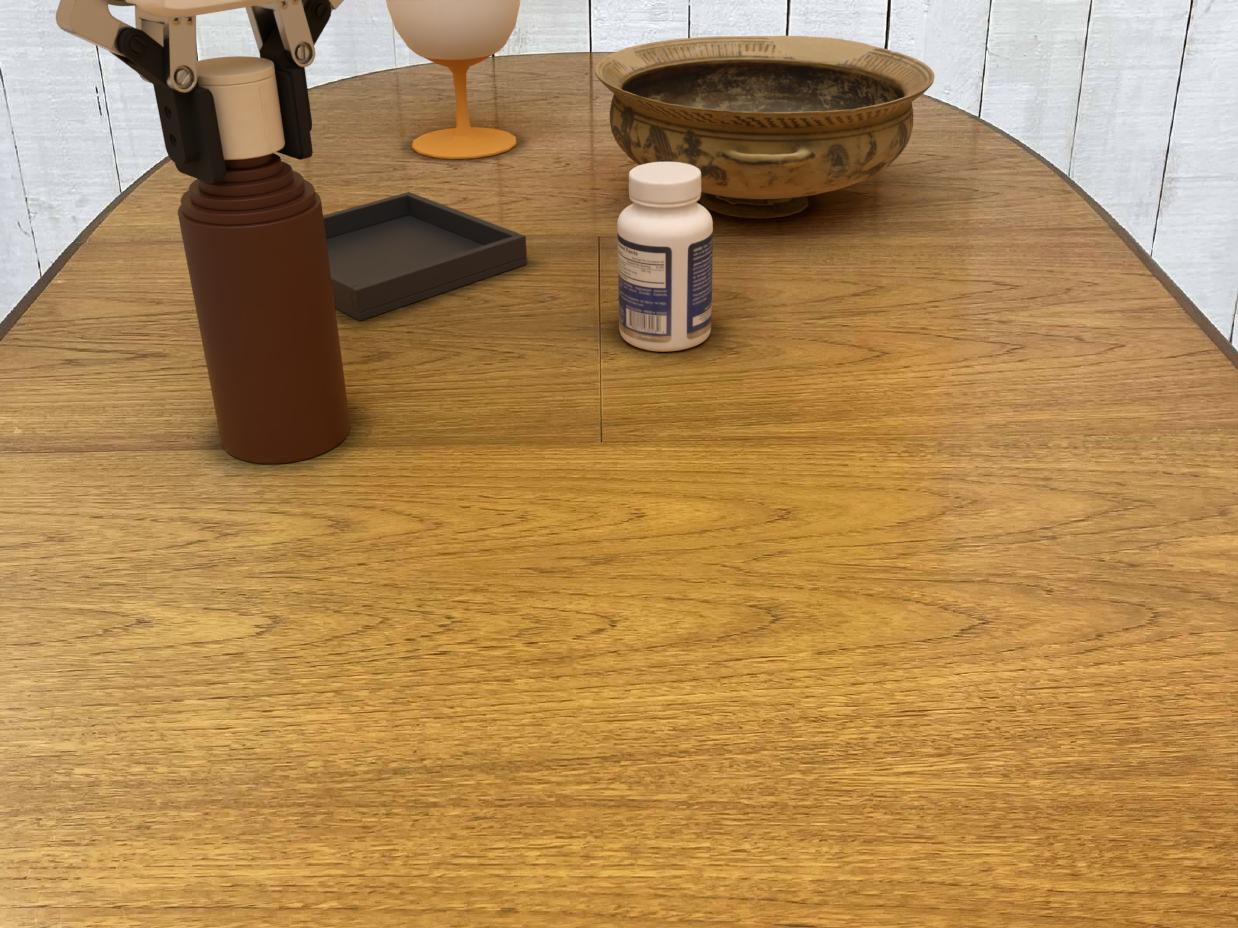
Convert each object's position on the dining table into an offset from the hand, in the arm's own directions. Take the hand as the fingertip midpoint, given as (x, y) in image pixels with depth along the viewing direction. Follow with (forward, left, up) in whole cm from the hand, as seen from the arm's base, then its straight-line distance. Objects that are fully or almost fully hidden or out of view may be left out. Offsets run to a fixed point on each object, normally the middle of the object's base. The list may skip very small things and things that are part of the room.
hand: (245, 160), depth 57 cm
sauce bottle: (0, 0, -14) cm, 14 cm away
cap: (0, 0, +1) cm, 1 cm away
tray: (-16, +17, -14) cm, 27 cm away
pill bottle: (+5, +22, -14) cm, 27 cm away
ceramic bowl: (-7, +44, -14) cm, 47 cm away
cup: (-35, +38, -14) cm, 54 cm away
